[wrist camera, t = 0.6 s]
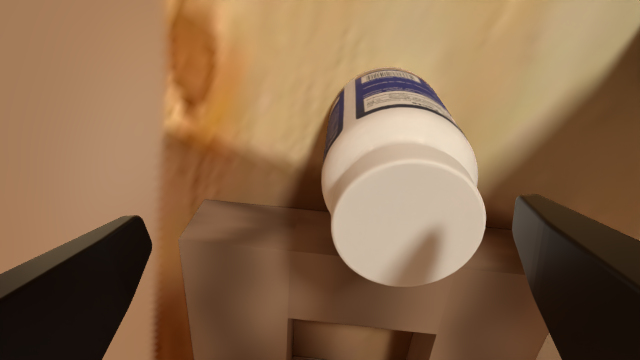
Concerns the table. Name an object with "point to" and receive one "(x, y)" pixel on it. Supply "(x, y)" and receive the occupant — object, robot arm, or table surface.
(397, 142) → the pill bottle
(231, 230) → the well block
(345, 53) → the table surface
